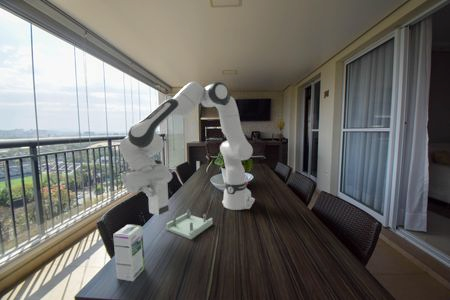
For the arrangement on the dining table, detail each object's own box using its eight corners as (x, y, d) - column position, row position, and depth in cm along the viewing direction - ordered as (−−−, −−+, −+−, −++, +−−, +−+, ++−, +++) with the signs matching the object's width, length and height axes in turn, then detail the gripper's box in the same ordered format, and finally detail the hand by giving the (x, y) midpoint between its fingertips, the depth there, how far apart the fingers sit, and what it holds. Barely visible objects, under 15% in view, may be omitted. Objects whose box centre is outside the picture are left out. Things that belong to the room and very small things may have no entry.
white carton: (159, 208, 80) (157, 176, 79) (169, 211, 77) (167, 178, 76) (149, 212, 76) (147, 179, 75) (159, 216, 73) (157, 181, 71)
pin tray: (189, 216, 96) (188, 207, 96) (212, 224, 88) (212, 213, 88) (166, 229, 84) (165, 218, 83) (191, 239, 76) (190, 227, 75)
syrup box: (133, 282, 54) (130, 235, 53) (115, 279, 55) (112, 233, 54) (145, 268, 60) (143, 225, 59) (129, 265, 61) (126, 223, 60)
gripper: (121, 167, 70) (138, 197, 65) (165, 160, 87) (180, 183, 83) (115, 177, 72) (132, 206, 68) (159, 168, 90) (174, 191, 85)
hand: (159, 193), depth 76 cm, fingers closed on white carton, 5 cm apart
